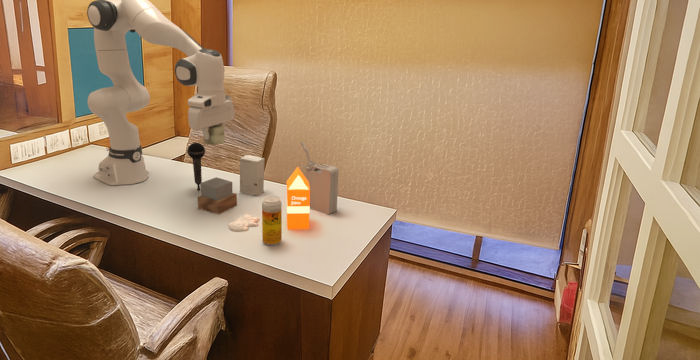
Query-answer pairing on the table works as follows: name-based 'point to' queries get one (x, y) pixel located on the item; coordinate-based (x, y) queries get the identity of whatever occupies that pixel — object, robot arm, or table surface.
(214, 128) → the sage cube
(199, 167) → the microphone
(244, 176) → the skincare box
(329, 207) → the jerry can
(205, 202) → the walnut base block
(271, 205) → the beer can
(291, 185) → the orange juice
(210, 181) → the slate top block
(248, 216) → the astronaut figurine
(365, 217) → the table surface
